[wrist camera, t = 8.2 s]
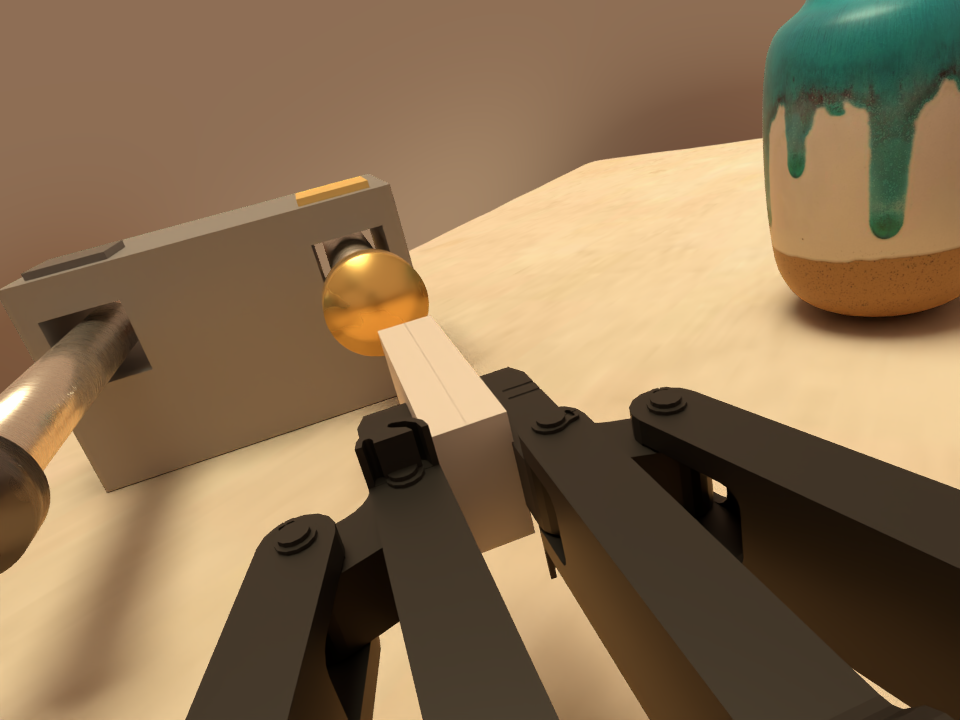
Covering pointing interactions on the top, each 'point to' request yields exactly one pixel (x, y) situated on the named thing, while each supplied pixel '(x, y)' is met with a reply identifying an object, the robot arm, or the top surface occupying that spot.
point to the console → (214, 328)
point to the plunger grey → (52, 418)
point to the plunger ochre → (368, 293)
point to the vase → (865, 154)
